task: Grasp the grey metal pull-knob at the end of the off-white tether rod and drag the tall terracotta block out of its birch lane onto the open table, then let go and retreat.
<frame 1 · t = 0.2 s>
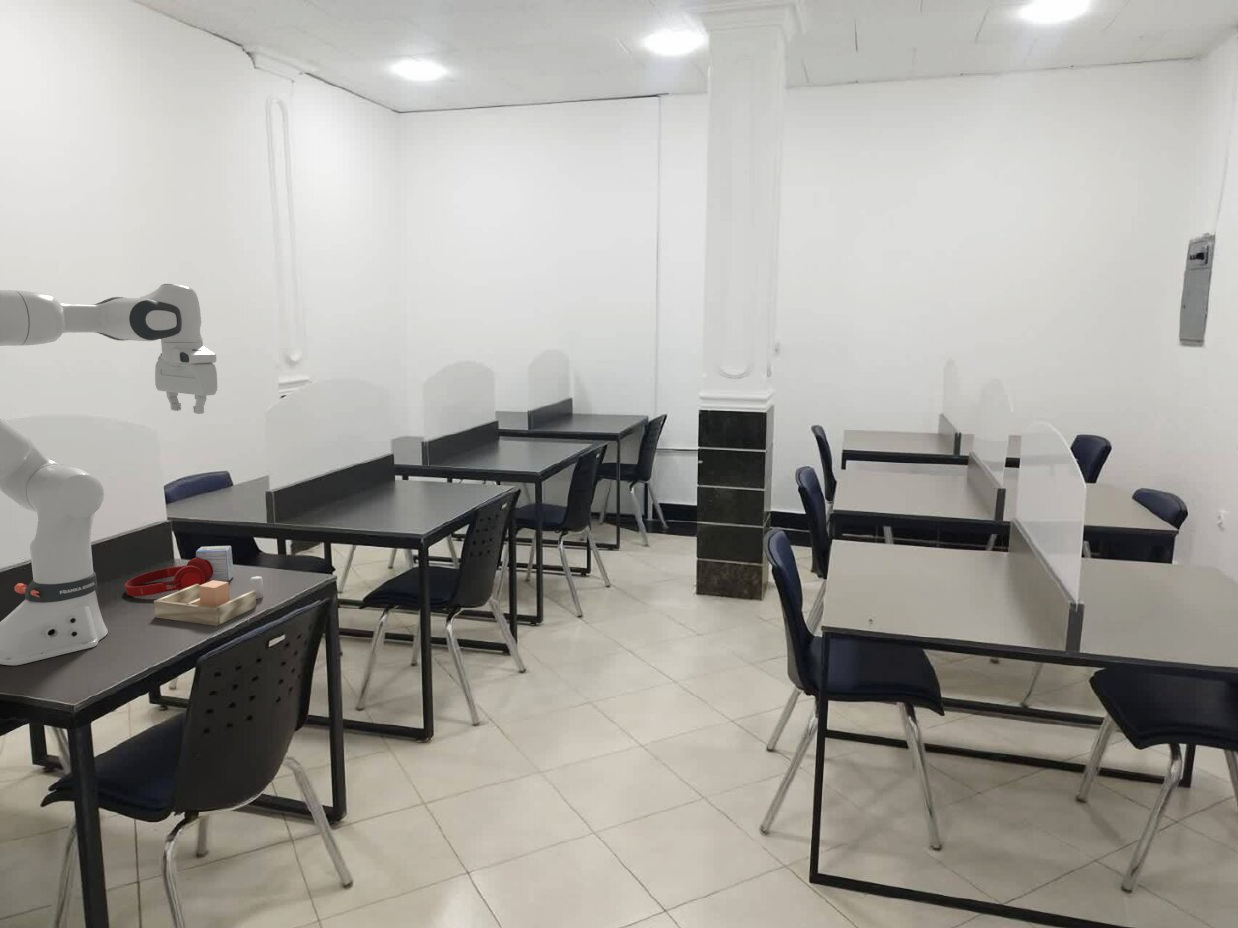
hand: (187, 412, 209), 47 cm above the table, fingers open, 8 cm apart
medicine box: (216, 579, 233), on the table, touching headphones
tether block: (216, 616, 206), on the table
headphones: (169, 590, 225), on the table, touching medicine box
lane shelf: (222, 613, 208), on the table
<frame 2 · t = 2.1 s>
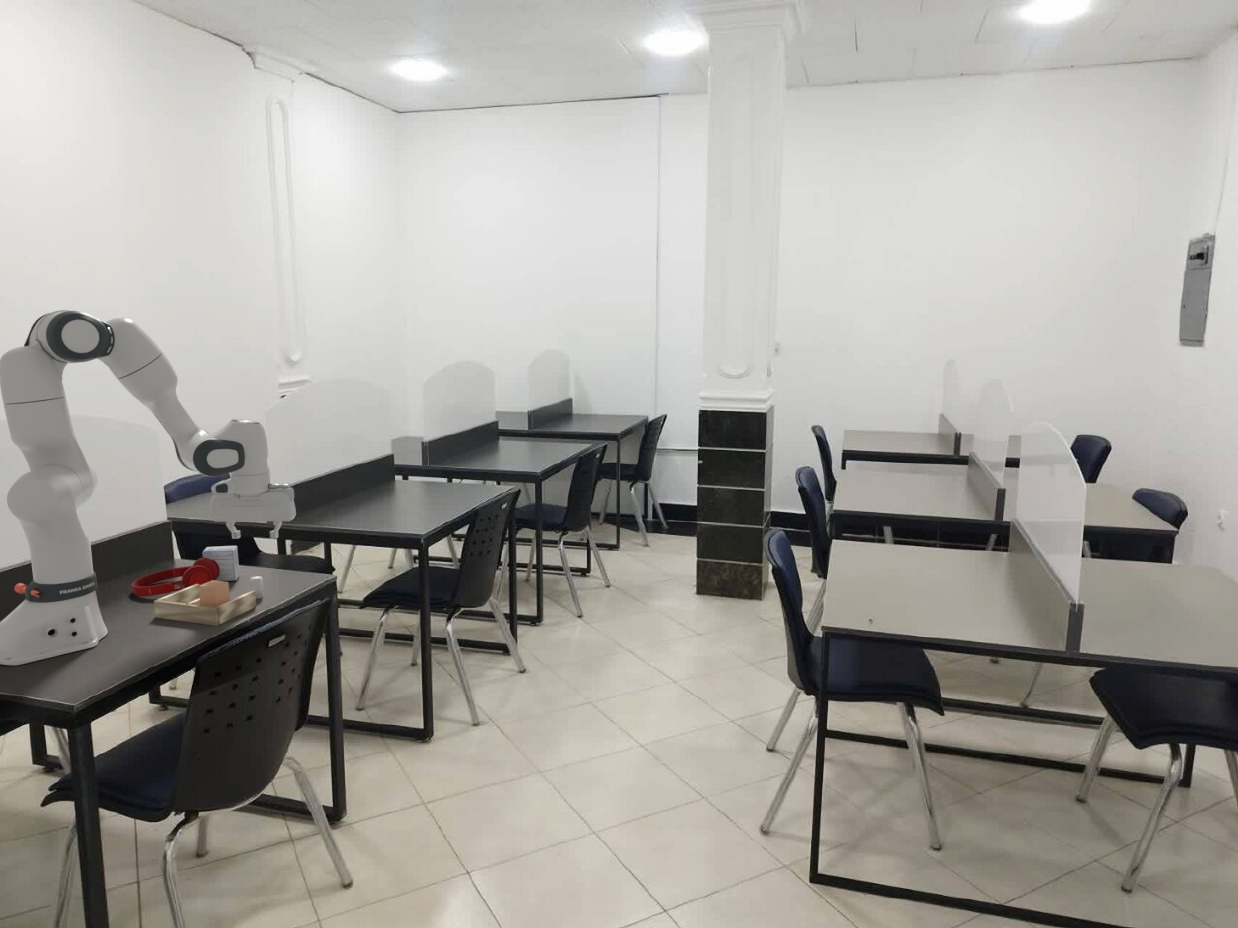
hand: (255, 538, 218), 15 cm above the table, fingers open, 8 cm apart
medicine box: (222, 579, 233), on the table, touching headphones
headphones: (175, 590, 225), on the table, touching medicine box
everything else where it was.
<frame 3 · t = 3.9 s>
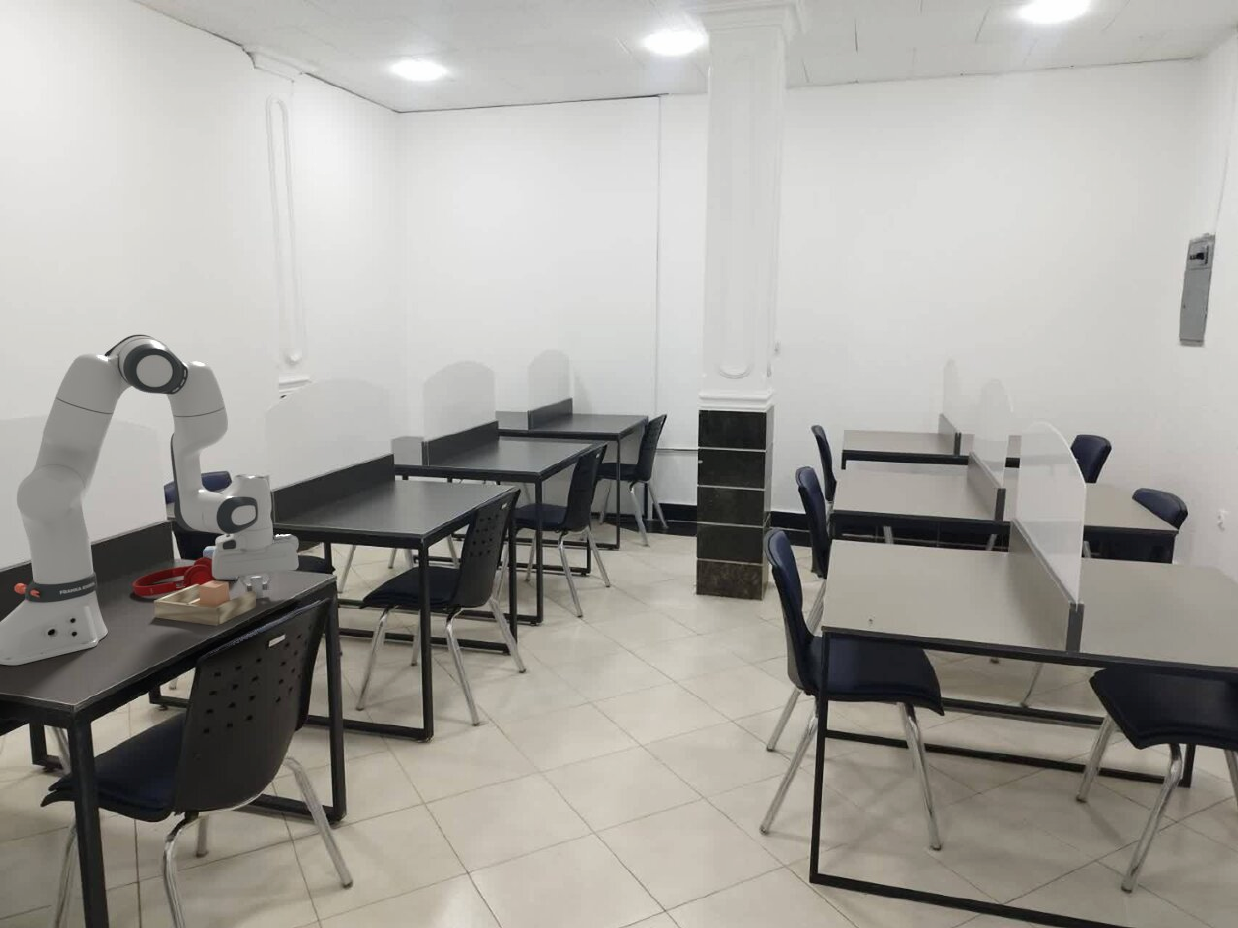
hand: (257, 590, 220), 2 cm above the table, fingers closed on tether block, 3 cm apart
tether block: (216, 616, 206), on the table, touching gripper
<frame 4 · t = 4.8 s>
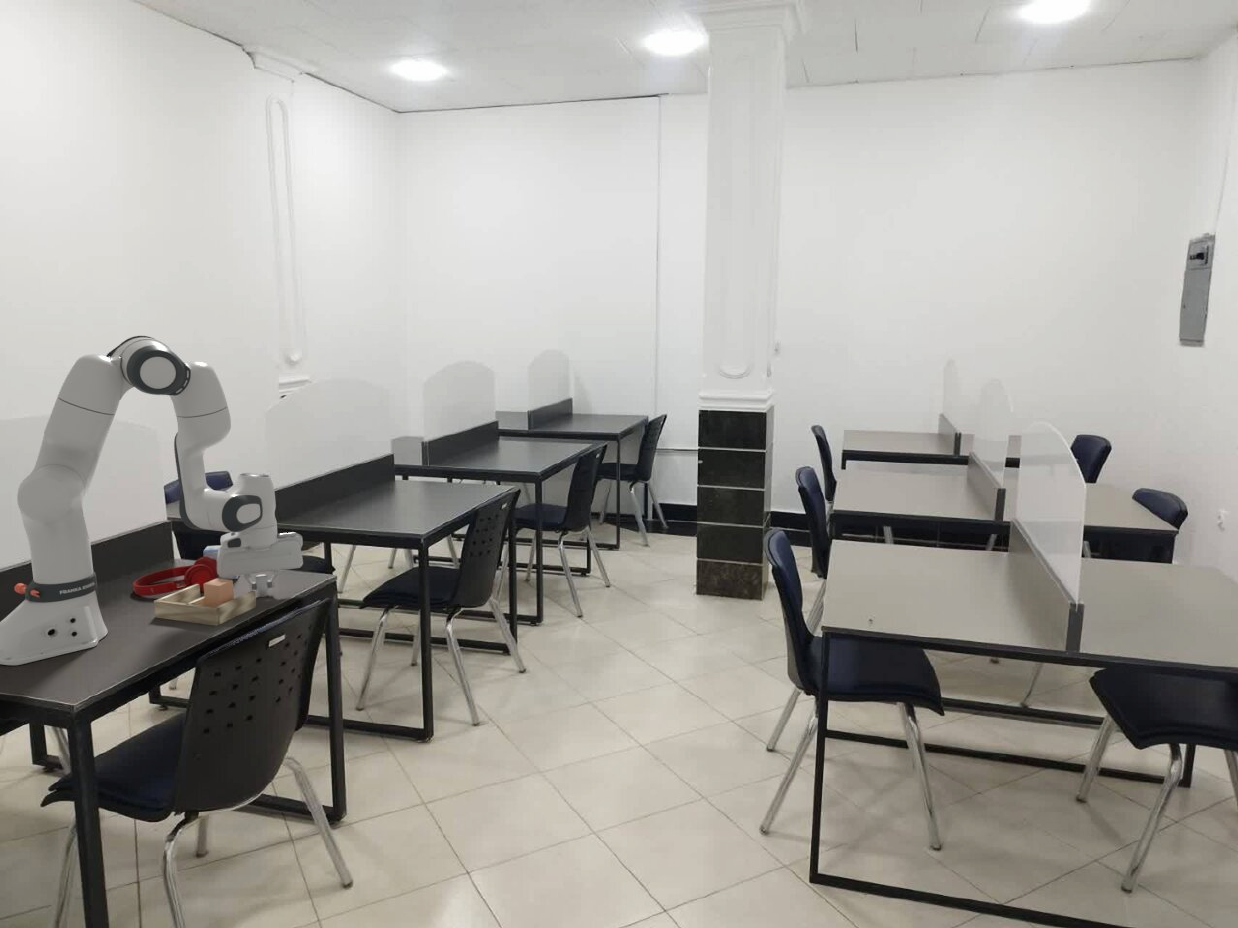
hand: (262, 588, 221), 2 cm above the table, fingers closed on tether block, 3 cm apart
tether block: (220, 614, 208), on the table, touching gripper
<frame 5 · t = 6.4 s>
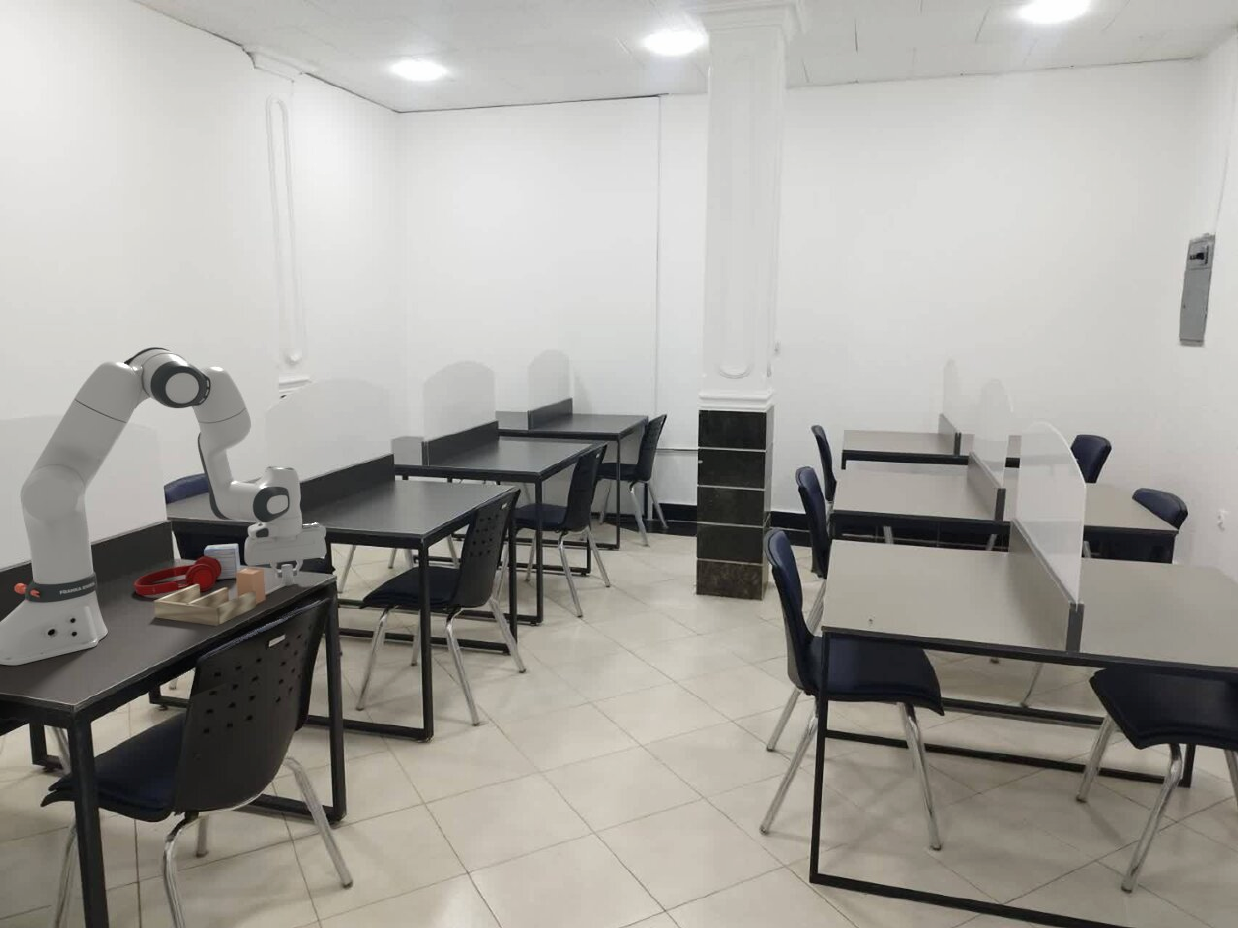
hand: (287, 576, 231), 2 cm above the table, fingers closed on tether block, 3 cm apart
medicine box: (224, 577, 235), on the table, touching headphones
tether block: (251, 601, 217), on the table, touching gripper
when the fingers open (2 cm above the table, at t = 7.6 s): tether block stays where it is, on the table.
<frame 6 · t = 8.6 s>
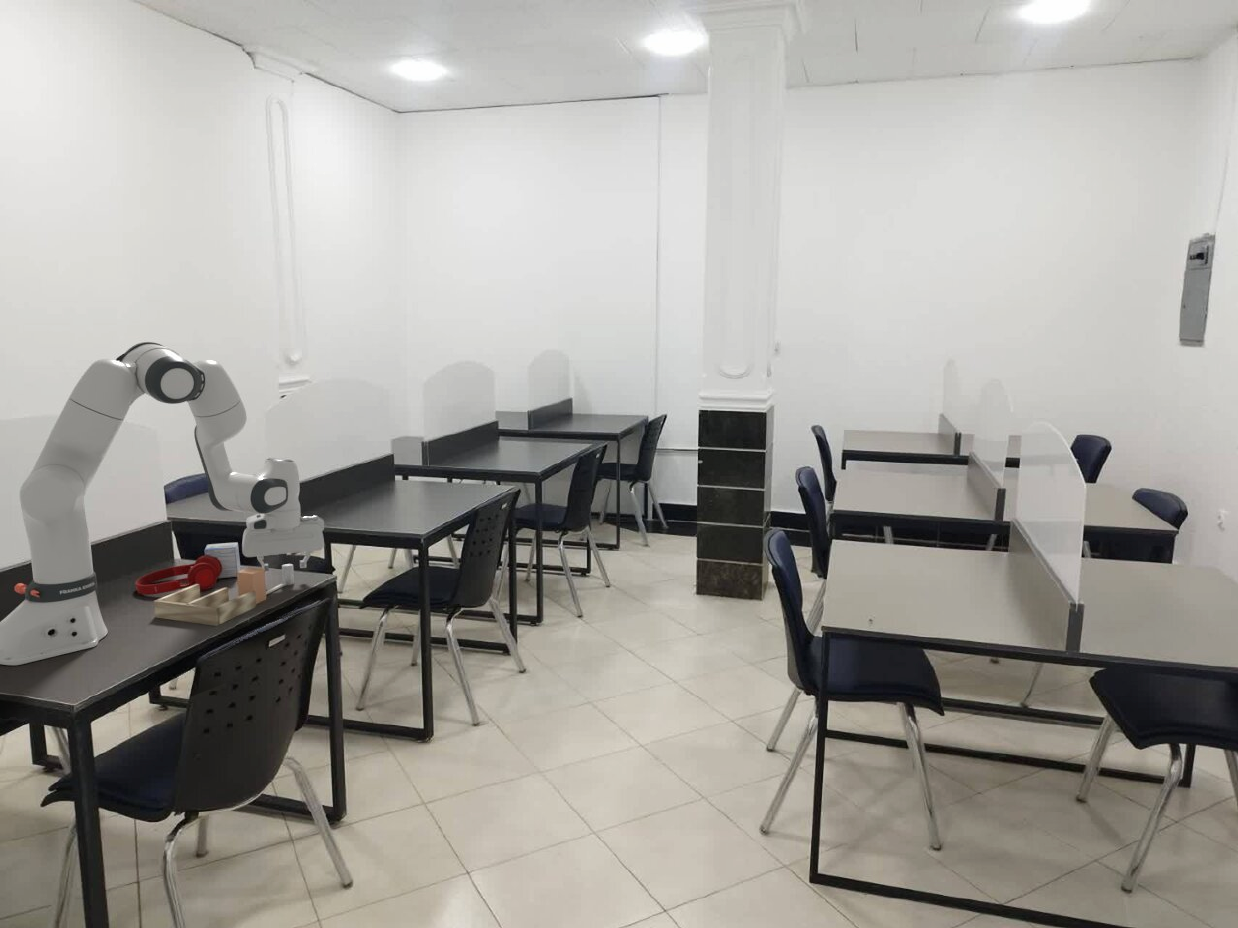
hand: (284, 569, 231), 4 cm above the table, fingers open, 8 cm apart
medicine box: (224, 576, 236), on the table, touching headphones
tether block: (252, 601, 217), on the table
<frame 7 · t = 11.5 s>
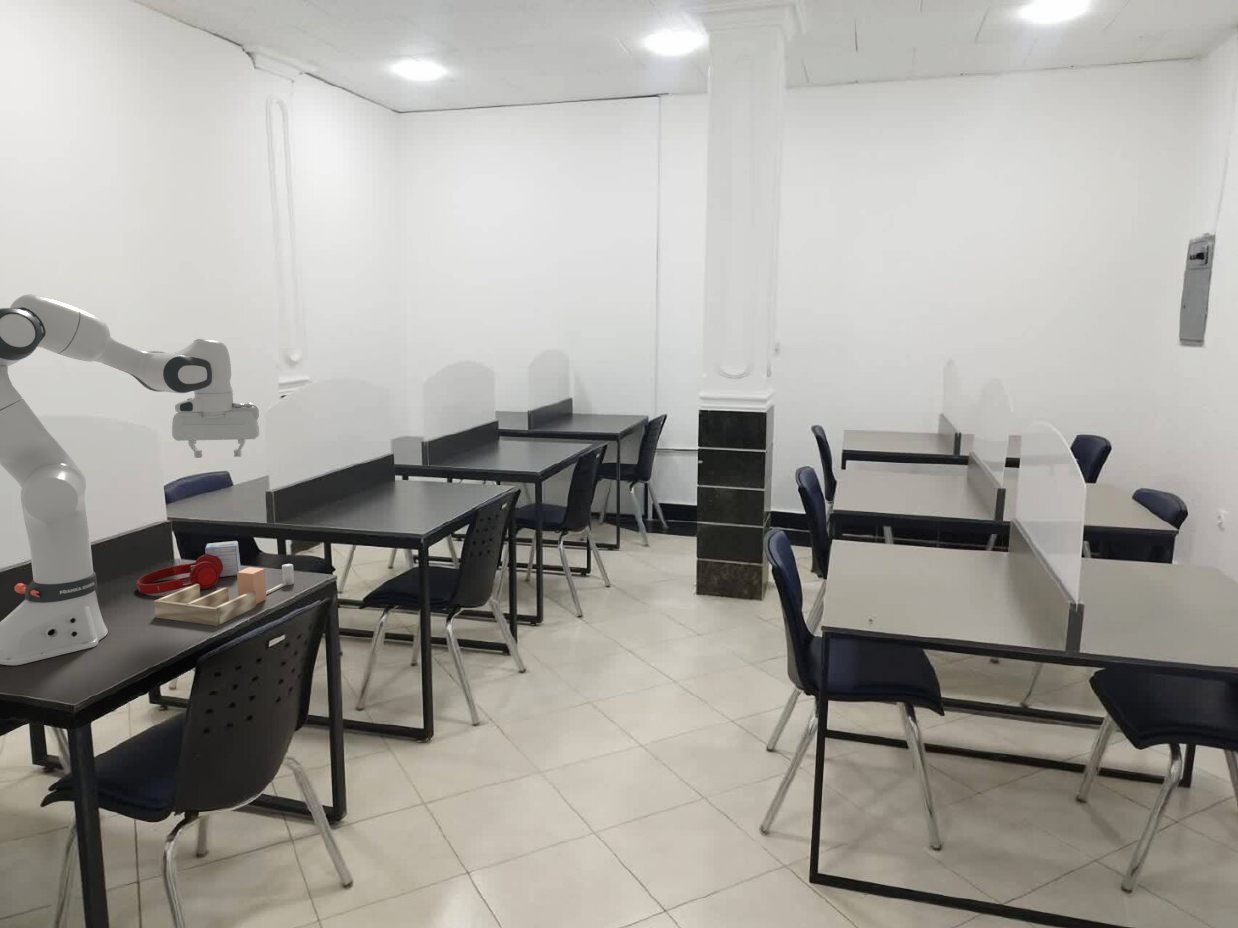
hand: (218, 457, 224), 34 cm above the table, fingers open, 8 cm apart
medicine box: (224, 575, 237), on the table, touching headphones
at the end: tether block moved 11.6 cm from its start; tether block inside the target area (2.1 cm from its centre), on the table; the gripper is holding nothing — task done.
